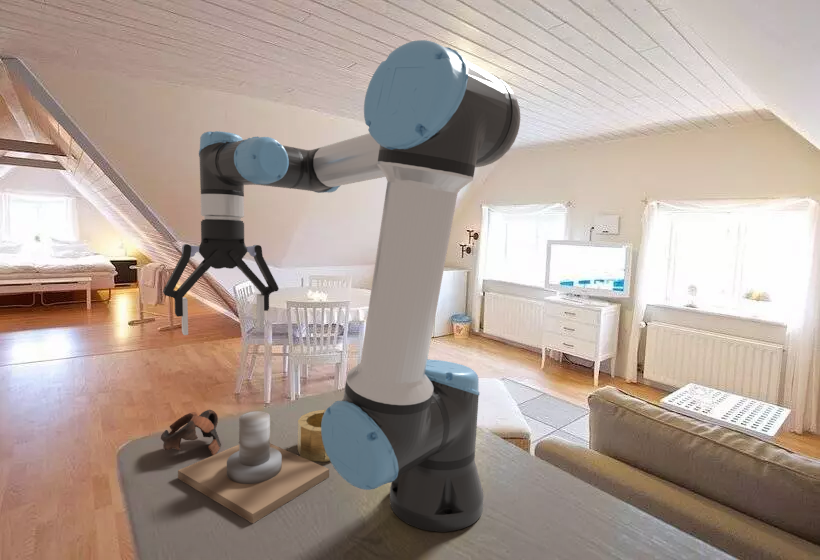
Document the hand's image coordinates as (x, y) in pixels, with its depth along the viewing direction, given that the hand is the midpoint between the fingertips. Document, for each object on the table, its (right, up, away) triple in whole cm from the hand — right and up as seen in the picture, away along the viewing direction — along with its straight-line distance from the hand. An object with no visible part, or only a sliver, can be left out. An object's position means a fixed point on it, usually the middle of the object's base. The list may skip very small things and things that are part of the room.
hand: (224, 330), depth 87 cm
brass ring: (+19, -24, +3) cm, 30 cm away
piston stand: (+9, -25, -8) cm, 27 cm away
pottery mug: (-6, -24, +2) cm, 24 cm away
